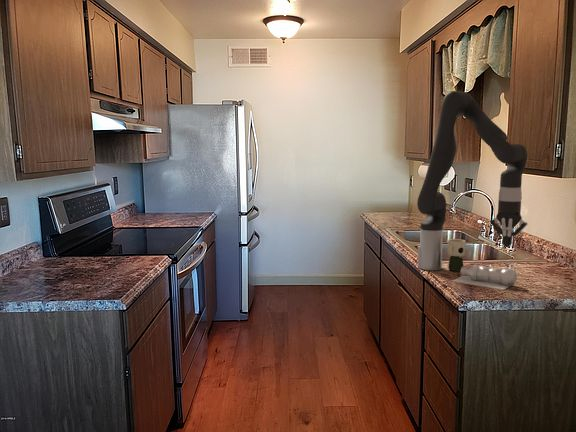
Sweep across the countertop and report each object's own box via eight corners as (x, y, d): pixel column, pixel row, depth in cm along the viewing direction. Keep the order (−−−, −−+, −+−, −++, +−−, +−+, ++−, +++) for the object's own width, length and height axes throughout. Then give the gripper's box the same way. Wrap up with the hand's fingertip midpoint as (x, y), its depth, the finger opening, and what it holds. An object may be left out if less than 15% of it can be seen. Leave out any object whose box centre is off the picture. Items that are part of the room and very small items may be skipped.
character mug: (457, 274, 197) (458, 243, 195) (441, 271, 202) (442, 241, 200) (469, 269, 204) (470, 239, 202) (454, 266, 209) (455, 237, 208)
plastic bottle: (512, 285, 173) (458, 277, 186) (517, 288, 178) (463, 279, 191) (515, 268, 174) (460, 261, 187) (519, 271, 179) (466, 264, 192)
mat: (452, 281, 186) (452, 280, 186) (462, 276, 193) (462, 275, 193) (503, 290, 173) (504, 289, 173) (512, 284, 181) (512, 283, 181)
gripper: (487, 199, 175) (485, 245, 177) (526, 201, 166) (523, 250, 169) (494, 197, 180) (492, 242, 183) (532, 199, 172) (529, 246, 174)
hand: (507, 246), depth 176 cm, fingers closed
